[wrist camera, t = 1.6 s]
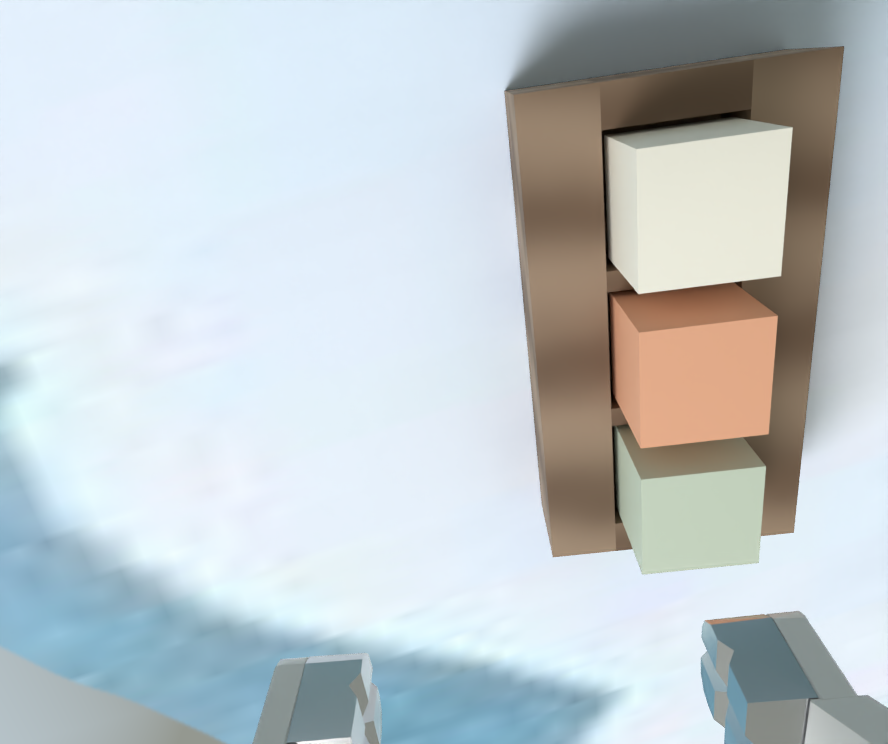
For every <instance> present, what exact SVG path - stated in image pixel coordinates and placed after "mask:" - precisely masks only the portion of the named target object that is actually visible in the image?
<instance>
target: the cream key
mask: <svg viewBox="0 0 888 744" xmlns="http://www.w3.org/2000/svg"><path fill="white" fill-rule="evenodd" d="M792 130H793V127H788V126H782V125H776V124H770V123H765V122H759V121H753V120H747V119H742V118H736V117H728V118H721V119H714V120H707V121H700V122H693V123H686V124H679V125H672V126H665V127H658V128H651V129H643V130H636V131H629V132H622V133H615V134H608V135H604V150H605V179H606V209H607V239H608V258H609V259H610V261H611V262H612V263H613V264H614V265H615V267H616V268H617V269H618V270H619V271H620V273H621V274H622V275H623V276H624V277H625V279H626V280H627V281H628V282H629V283H630V285H631V286H632V287H633V288H634V289H635V291H636V292H637V293H638V294H643V293H651V292H659V291H667V290H675V289H683V288H691V287H699V286H707V285H715V284H723V283H730V282H738V281H746V280H754V279H762V278H770V277H778V276H781V270H782V257H783V244H784V232H785V219H786V206H787V193H788V181H789V168H790V155H791V142H792Z"/></svg>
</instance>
